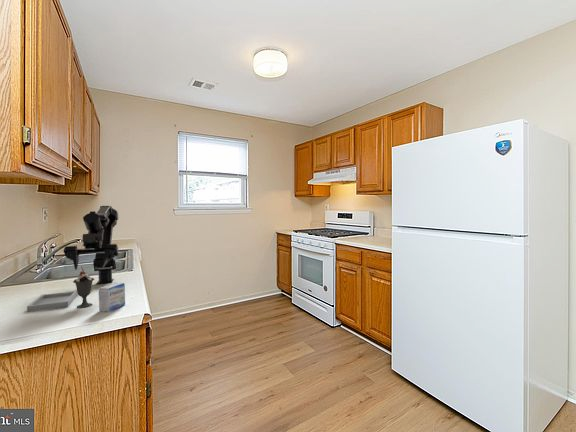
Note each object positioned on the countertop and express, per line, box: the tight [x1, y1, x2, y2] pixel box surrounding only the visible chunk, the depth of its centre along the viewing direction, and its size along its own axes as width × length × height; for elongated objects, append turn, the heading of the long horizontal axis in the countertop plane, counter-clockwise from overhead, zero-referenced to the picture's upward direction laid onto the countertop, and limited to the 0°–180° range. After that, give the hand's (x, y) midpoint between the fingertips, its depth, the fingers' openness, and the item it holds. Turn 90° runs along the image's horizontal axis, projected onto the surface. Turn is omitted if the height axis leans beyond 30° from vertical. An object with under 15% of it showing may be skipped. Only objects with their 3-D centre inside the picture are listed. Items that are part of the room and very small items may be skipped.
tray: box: [26, 290, 79, 313], centre depth 112 cm, size 15×12×2 cm
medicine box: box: [98, 282, 126, 313], centre depth 107 cm, size 8×4×9 cm, turn 168°
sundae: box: [72, 266, 95, 309], centre depth 109 cm, size 7×7×15 cm
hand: (89, 268), depth 116 cm, fingers open, 9 cm apart
